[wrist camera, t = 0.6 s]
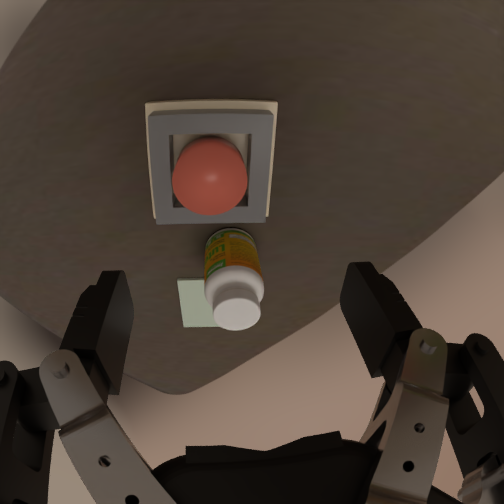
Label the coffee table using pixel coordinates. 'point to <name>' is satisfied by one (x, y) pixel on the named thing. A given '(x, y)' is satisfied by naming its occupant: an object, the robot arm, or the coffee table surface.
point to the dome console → (211, 124)
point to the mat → (195, 303)
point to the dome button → (209, 176)
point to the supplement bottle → (233, 279)
